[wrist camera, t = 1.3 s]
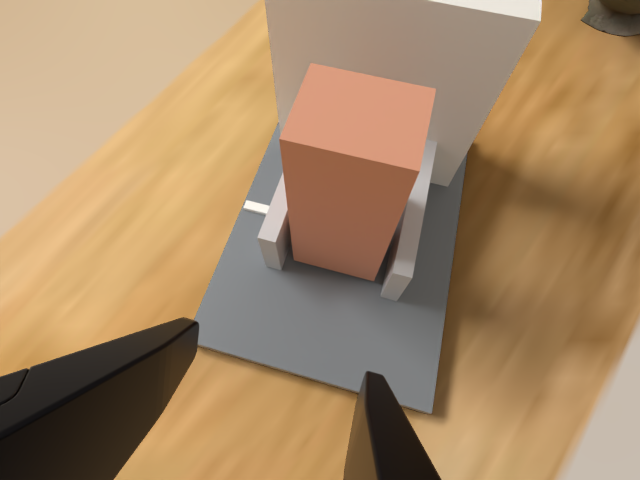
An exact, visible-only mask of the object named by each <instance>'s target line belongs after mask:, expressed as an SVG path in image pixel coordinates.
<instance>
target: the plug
mask: <svg viewBox="0 0 640 480" xmlns="http://www.w3.org/2000/svg"><path fill="white" fill-rule="evenodd" d="M435 93H436V89H434V88H430V87H425V86H420V85H415V84H410V83H405V82H401V81H396V80H391V79H386V78H381V77H377V76H372V75H367V74H362V73H357V72H352V71H348V70H343V69H338V68H333V67H328V66H323V65H319V64H314V63H310V66H309V68H308V71H307V73H306V75H305V78H304V80H303V83H302V85H301V87H300V90H299V92H298V95H297V97H296V99H295V102H294V104H293V107H292V109H291V111H290V114H289V116H288V119H287V121H286V123H285V126H284V128H283V131H282V133H281V135H280V138H279V142H280V151H281V159H282V167H283V175H284V184H285V192H286V200H287V208H288V217H289V225H290V233H291V242H292V250H293V258H294V260H295V261H299V262H302V263H306V264H310V265H314V266H317V267H321V268H325V269H329V270H333V271H336V272H340V273H344V274H348V275H351V276H355V277H359V278H363V279H367V280H370V281H374V280H375V277H376V275H377V273H378V270H379V268H380V265H381V263H382V261H383V258H384V256H385V253H386V251H387V249H388V246H389V244H390V241H391V239H392V237H393V234H394V232H395V229H396V227H397V225H398V222H399V220H400V217H401V215H402V213H403V210H404V208H405V205H406V203H407V201H408V198H409V196H410V194H411V191H412V189H413V186H414V184H415V182H416V179H417V177H418V174H419V172H420V168H421V163H422V158H423V153H424V148H425V143H426V138H427V133H428V128H429V123H430V118H431V113H432V108H433V103H434V98H435Z"/></svg>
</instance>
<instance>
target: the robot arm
mask: <svg viewBox="0 0 640 480" xmlns="http://www.w3.org/2000/svg"><path fill="white" fill-rule="evenodd" d="M198 336H199V323H198V322H197V321H195V320H191V319H188V318H184V317H182V318H179V319H176V320H173V321H170V322H166V323H163V324H160V325H157V326H154V327H151V328H148V329H145V330H142V331H139V332H136V333H133V334H130V335H127V336H124V337H121V338H118V339H115V340H112V341H108V342H105V343H102V344H99V345H96V346H93V347H90V348H87V349H84V350H81V351H78V352H75V353H72V354H69V355H66V356H63V357H59V358H56V359H53V360H50V361H47V362H44V363H41V364H38V365H35V366H32V367H30V369H27V368H26V369H23V370H20V371H17V372H13V373H10V374H7V375H4V376H1V377H0V480H114V478H115V477H116V475H117V474H118V473H119V471H120V470H121V469H122V467H123V466H124V465H125V463H126V462H127V461H128V459H129V458H130V457H131V455H132V454H133V452H134V451H135V450H136V448H137V447H138V446H139V444H140V443H141V442H142V440H143V439H144V438H145V436H146V435H147V433H148V432H149V431H150V429H151V428H152V427H153V425H154V424H155V423H156V421H157V420H158V418H159V417H160V415H161V414H162V412H163V411H164V409H165V408H166V406H167V404H168V403H169V401H170V399H171V398H172V396H173V394H174V392H175V391H176V389H177V387H178V386H179V384H180V382H181V380H182V379H183V377H184V375H185V374H186V372H187V370H188V368H189V367H190V365H191V363H192V362H193V360H194V358H195V355H196V352H197V345H198ZM343 480H441V478H440V476H439V475H438V473H437V471H436V469H435V467H434V465H433V464H432V462H431V460H430V458H429V456H428V455H427V453H426V451H425V449H424V447H423V446H422V444H421V442H420V440H419V438H418V437H417V435H416V433H415V431H414V429H413V428H412V426H411V424H410V422H409V420H408V419H407V417H406V415H405V413H404V411H403V410H402V408H401V406H400V404H399V402H398V401H397V399H396V397H395V395H394V393H393V391H392V390H391V388H390V386H389V384H388V382H387V381H386V379H385V377H384V376H383V375H382V374H378V373H375V372H371V371H366V372H365V374H364V377H363V381H362V384H361V387H360V391H359V394H358V397H357V401H356V406H355V411H354V416H353V422H352V428H351V433H350V439H349V445H348V450H347V456H346V462H345V469H344V478H343Z"/></svg>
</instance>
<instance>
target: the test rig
mask: <svg viewBox="0 0 640 480" xmlns="http://www.w3.org/2000/svg"><path fill="white" fill-rule="evenodd" d="M541 4H542V0H265V6H266V15H267V23H268V32H269V41H270V49H271V58H272V67H273V75H274V84H275V93H276V102H277V110H278V119H279V122H278V124H277V127H276V129H275V131H274V134H273V136H272V138H271V141H270V143H269V145H268V148H267V150H266V152H265V155H264V157H263V159H262V162H261V164H260V166H259V169H258V171H257V174H256V176H255V178H254V181H253V183H252V185H251V188H250V190H249V192H248V195H247V197H246V199H245V202H244V204H243V206H242V209H241V211H240V213H239V216H238V218H237V220H236V223H235V225H234V227H233V230H232V232H231V234H230V237H229V239H228V241H227V244H226V246H225V248H224V251H223V253H222V255H221V258H220V260H219V262H218V265H217V267H216V269H215V272H214V274H213V276H212V279H211V281H210V283H209V286H208V288H207V290H206V293H205V295H204V297H203V300H202V302H201V304H200V307H199V309H198V311H197V314H196V316H195V318H194V320H195V321H197V322H198V323H199V336H198V345H197V346H199V347H203V348H206V349H210V350H213V351H216V352H220V353H223V354H226V355H230V356H233V357H236V358H240V359H243V360H247V361H250V362H253V363H257V364H260V365H263V366H267V367H270V368H273V369H277V370H280V371H284V372H287V373H290V374H294V375H297V376H300V377H304V378H307V379H310V380H314V381H317V382H321V383H324V384H327V385H331V386H334V387H337V388H341V389H344V390H347V391H351V392H354V393H358V394H359V391H360V387H361V384H362V381H363V377H364V374H365V372H366V371H371V372H375V373H378V374H382V375H383V376H384V377H385V379H386V381H387V382H388V384H389V386H390V388H391V390H392V391H393V393H394V395H395V397H396V399H397V401H398V402H399V404H400V406H401V407H405V408H408V409H411V410H415V411H418V412H421V413H425V414H432V409H433V401H434V394H435V387H436V379H437V372H438V365H439V357H440V350H441V343H442V335H443V328H444V321H445V313H446V306H447V299H448V291H449V284H450V277H451V269H452V262H453V255H454V247H455V240H456V233H457V225H458V218H459V211H460V204H461V196H462V189H463V182H464V174H465V167H466V160H467V152H468V150H469V148H470V146H471V145H472V143H473V141H474V139H475V137H476V136H477V134H478V132H479V130H480V129H481V127H482V125H483V123H484V121H485V120H486V118H487V116H488V114H489V113H490V111H491V109H492V107H493V105H494V104H495V102H496V100H497V98H498V97H499V95H500V93H501V91H502V89H503V88H504V86H505V84H506V82H507V81H508V79H509V77H510V75H511V73H512V72H513V70H514V68H515V66H516V65H517V63H518V61H519V59H520V57H521V56H522V54H523V52H524V50H525V48H526V47H527V45H528V43H529V41H530V40H531V38H532V36H533V34H534V32H535V31H536V29H537V27H538V25H539V24H540V22H541ZM310 63H314V64H319V65H323V66H328V67H333V68H338V69H343V70H348V71H352V72H357V73H362V74H367V75H372V76H377V77H381V78H386V79H391V80H396V81H401V82H405V83H410V84H415V85H420V86H425V87H430V88H434V89H436V93H435V98H434V103H433V108H432V113H431V118H430V123H429V128H428V133H427V138H426V143H425V148H424V153H423V158H422V163H421V168H420V172H419V174H418V177H417V179H416V182H415V184H414V186H413V189H412V191H411V194H410V196H409V198H408V201H407V203H406V205H405V208H404V210H403V213H402V215H401V217H400V220H399V222H398V225H397V227H396V229H395V232H394V234H393V237H392V239H391V241H390V244H389V246H388V249H387V251H386V253H385V256H384V258H383V261H382V263H381V265H380V268H379V270H378V273H377V275H376V277H375V280H374V281H370V280H367V279H363V278H359V277H355V276H351V275H348V274H344V273H340V272H336V271H333V270H329V269H325V268H321V267H317V266H314V265H310V264H306V263H302V262H299V261H295V260H294V258H293V250H292V242H291V233H290V225H289V217H288V208H287V200H286V192H285V184H284V175H283V167H282V159H281V151H280V142H279V138H280V135H281V133H282V131H283V128H284V126H285V123H286V121H287V119H288V116H289V114H290V111H291V109H292V107H293V104H294V102H295V99H296V97H297V95H298V92H299V90H300V87H301V85H302V83H303V80H304V78H305V75H306V73H307V71H308V68H309V66H310Z"/></svg>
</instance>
